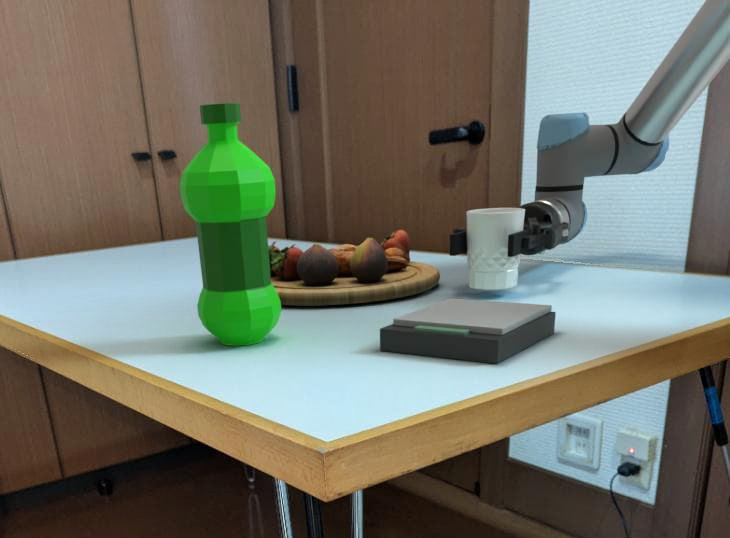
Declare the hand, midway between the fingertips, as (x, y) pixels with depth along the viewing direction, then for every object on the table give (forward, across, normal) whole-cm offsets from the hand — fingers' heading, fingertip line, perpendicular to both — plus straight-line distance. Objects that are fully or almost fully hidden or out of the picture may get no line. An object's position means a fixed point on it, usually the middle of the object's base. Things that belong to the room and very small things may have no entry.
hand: (481, 245), depth 107 cm
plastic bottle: (+31, +18, -8) cm, 36 cm away
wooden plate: (-4, +25, -7) cm, 27 cm away
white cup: (-5, 0, -6) cm, 8 cm away
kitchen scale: (+23, -8, -7) cm, 25 cm away
